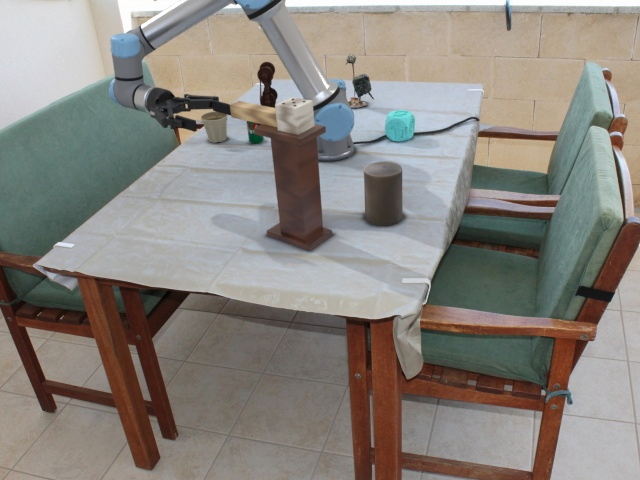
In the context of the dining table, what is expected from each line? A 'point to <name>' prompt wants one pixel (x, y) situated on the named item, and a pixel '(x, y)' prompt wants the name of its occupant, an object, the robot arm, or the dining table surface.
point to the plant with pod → (359, 85)
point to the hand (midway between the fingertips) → (214, 118)
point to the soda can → (252, 137)
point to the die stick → (278, 114)
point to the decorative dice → (400, 125)
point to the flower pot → (215, 126)
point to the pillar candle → (383, 193)
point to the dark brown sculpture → (267, 85)
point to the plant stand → (297, 186)
